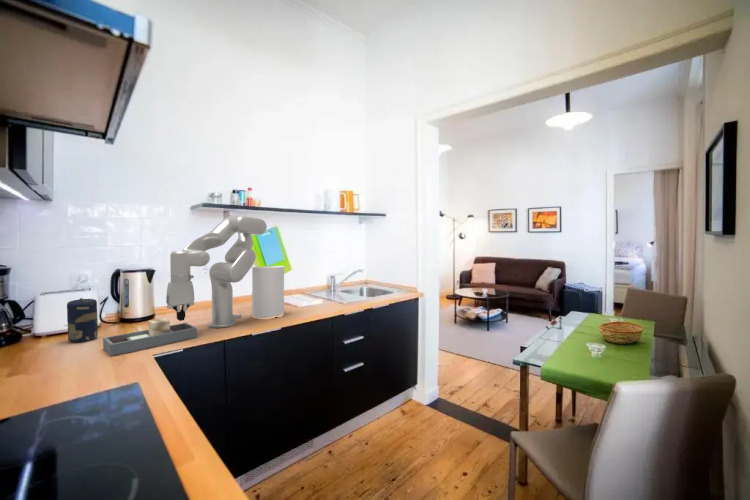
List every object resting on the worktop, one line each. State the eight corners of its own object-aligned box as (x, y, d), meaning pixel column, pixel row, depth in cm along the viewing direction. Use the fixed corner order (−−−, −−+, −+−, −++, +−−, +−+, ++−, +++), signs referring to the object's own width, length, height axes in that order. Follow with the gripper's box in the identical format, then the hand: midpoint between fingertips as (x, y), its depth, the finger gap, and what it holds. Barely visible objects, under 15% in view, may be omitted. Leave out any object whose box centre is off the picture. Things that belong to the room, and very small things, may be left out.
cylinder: (288, 316, 182) (288, 267, 180) (256, 321, 172) (256, 268, 170) (278, 310, 196) (278, 264, 194) (248, 314, 186) (248, 265, 185)
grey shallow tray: (186, 332, 151) (185, 322, 151) (196, 337, 143) (196, 327, 143) (103, 349, 128) (103, 337, 128) (110, 356, 120) (110, 344, 120)
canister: (97, 334, 145) (96, 295, 144) (99, 340, 138) (98, 298, 137) (67, 339, 138) (66, 297, 137) (68, 345, 131) (66, 301, 131)
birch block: (165, 331, 141) (164, 318, 141) (170, 334, 138) (169, 320, 137) (148, 334, 137) (148, 320, 137) (153, 337, 133) (153, 323, 133)
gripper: (195, 276, 151) (195, 315, 152) (158, 279, 139) (158, 321, 140) (202, 278, 146) (202, 318, 147) (164, 281, 134) (164, 325, 135)
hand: (181, 320), depth 143 cm, fingers closed
